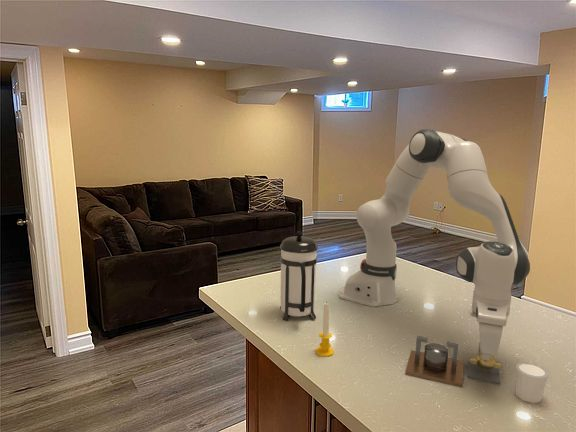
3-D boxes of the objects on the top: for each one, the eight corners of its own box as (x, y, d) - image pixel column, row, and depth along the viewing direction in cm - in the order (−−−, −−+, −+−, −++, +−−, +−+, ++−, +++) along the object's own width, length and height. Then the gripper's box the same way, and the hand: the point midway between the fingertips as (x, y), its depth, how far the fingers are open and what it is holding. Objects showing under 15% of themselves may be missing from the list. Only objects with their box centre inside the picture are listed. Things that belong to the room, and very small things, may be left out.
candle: (315, 347, 125) (317, 297, 122) (333, 348, 125) (335, 298, 122) (316, 356, 120) (317, 305, 117) (334, 357, 120) (336, 305, 117)
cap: (470, 366, 111) (472, 347, 110) (469, 358, 116) (471, 340, 114) (502, 372, 109) (504, 352, 108) (499, 363, 113) (502, 344, 112)
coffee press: (265, 315, 147) (265, 231, 141) (295, 302, 158) (297, 224, 153) (302, 331, 135) (305, 240, 129) (333, 316, 147) (336, 232, 141)
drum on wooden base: (405, 374, 112) (407, 345, 110) (411, 353, 123) (413, 326, 121) (462, 387, 107) (465, 357, 105) (462, 363, 117) (465, 336, 116)
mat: (466, 377, 111) (466, 375, 111) (466, 362, 118) (467, 361, 118) (500, 385, 108) (500, 383, 108) (498, 369, 115) (498, 367, 115)
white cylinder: (506, 387, 107) (509, 362, 105) (532, 386, 107) (535, 361, 106) (523, 405, 100) (527, 378, 99) (551, 403, 101) (555, 377, 99)
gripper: (476, 289, 120) (472, 335, 122) (477, 318, 101) (472, 370, 104) (501, 293, 117) (496, 339, 120) (507, 323, 99) (500, 376, 102)
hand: (484, 354), depth 112 cm, fingers closed on cap, 4 cm apart
